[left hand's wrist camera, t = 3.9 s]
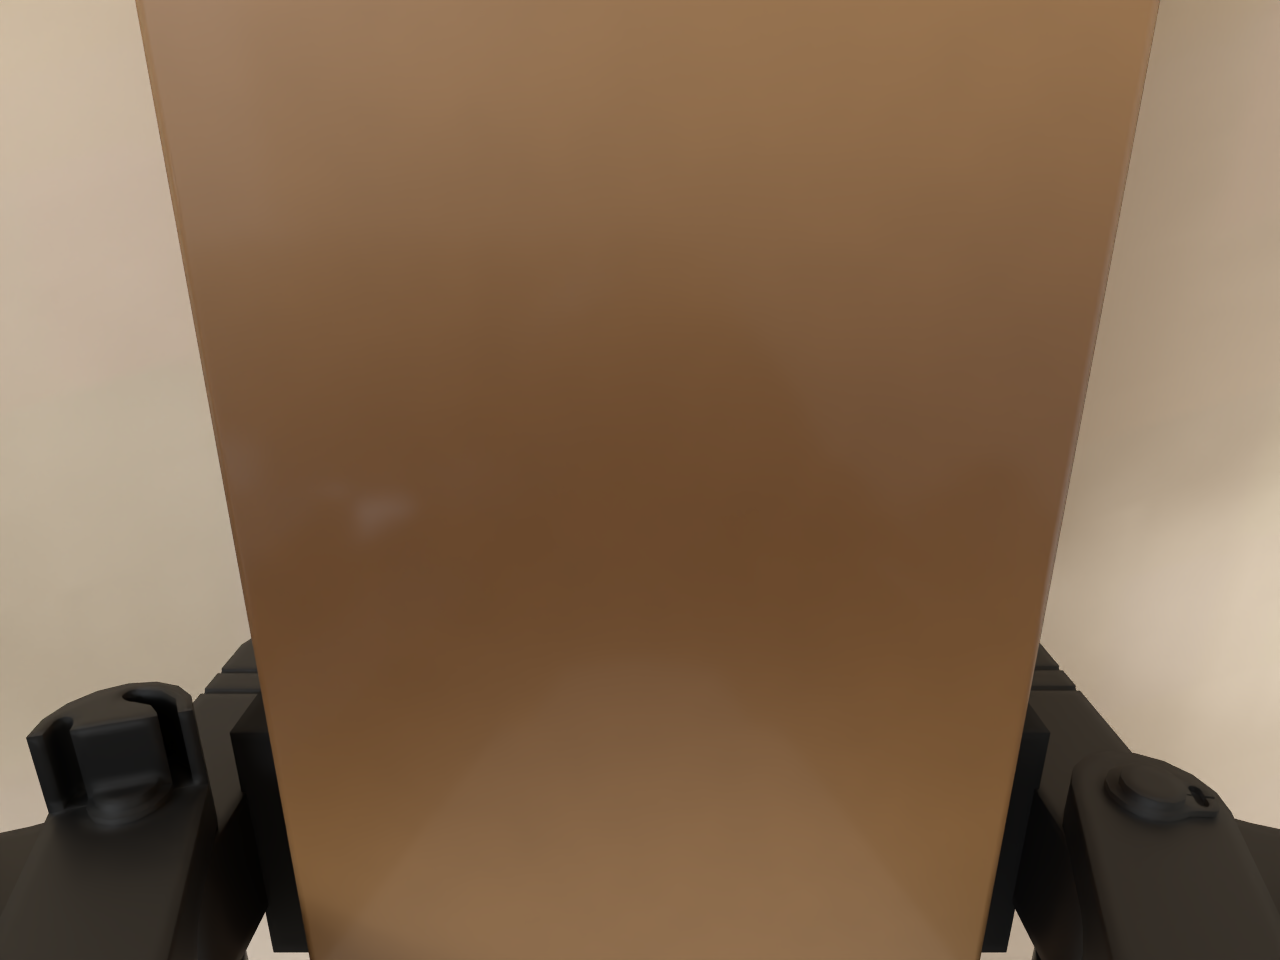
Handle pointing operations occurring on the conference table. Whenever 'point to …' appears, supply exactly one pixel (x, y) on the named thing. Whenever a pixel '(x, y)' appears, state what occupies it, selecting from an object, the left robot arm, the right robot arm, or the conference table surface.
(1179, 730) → the conference table surface
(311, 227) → the beam
